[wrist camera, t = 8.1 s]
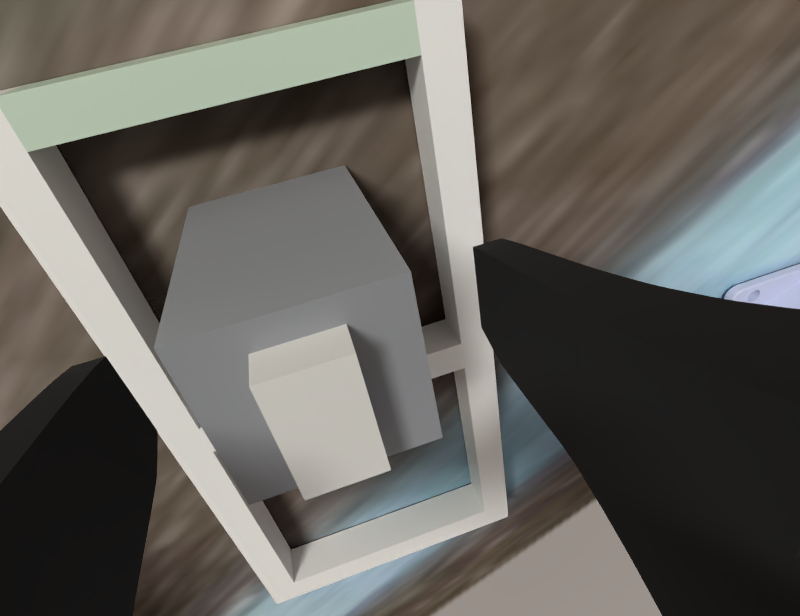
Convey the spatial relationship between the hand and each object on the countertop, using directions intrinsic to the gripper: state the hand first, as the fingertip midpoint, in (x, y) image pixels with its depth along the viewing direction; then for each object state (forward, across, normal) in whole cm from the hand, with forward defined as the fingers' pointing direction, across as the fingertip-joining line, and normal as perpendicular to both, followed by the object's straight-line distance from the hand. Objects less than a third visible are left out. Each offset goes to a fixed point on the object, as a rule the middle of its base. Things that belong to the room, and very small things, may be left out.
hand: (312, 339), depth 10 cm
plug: (+4, 0, 0) cm, 5 cm away
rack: (+4, 0, +4) cm, 6 cm away
